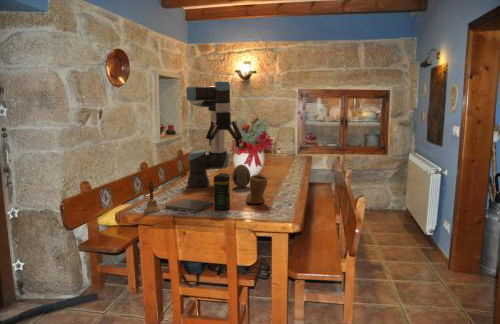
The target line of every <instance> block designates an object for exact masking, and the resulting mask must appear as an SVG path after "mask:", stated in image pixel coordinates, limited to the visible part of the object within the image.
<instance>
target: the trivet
mask: <svg viewBox="0 0 500 324" xmlns="http://www.w3.org/2000/svg"><path fill="white" fill-rule="evenodd" d="M213 206H214V201H207V200H199V199H192V198H191V199H190V198H182V199H181V198H180V199H179V200H177V201H173V202H171V203H168V204H166V205H165V209H168V208H173V209H172V210H175V209H181V210H180V211H183V210H188V211H187V212H190V211H195V212H194V213H199V212H201V211H203V210H205V208H206V209H207V207H208V208H210V207H213ZM200 210H201V211H200ZM198 211H199V212H198Z"/></svg>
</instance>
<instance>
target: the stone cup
mask: <svg viewBox="0 0 500 324" xmlns="http://www.w3.org/2000/svg"><path fill="white" fill-rule="evenodd" d="M250 177H251V178H250V182H249V189H250V193H248V194H247V196H246V199H245V200H246V203H248V204H254V205H255V204H263V203H264V201H265V196H264V193H265V190H266V188H267V185H268V178H267V177H266V176H264V175H260V174H254V175H251V176H250Z"/></svg>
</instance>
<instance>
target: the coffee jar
mask: <svg viewBox="0 0 500 324" xmlns="http://www.w3.org/2000/svg"><path fill="white" fill-rule="evenodd" d="M230 183H231V182H230V175H229V174H228V173H226V172H219V173H218V174H216V175H214V176H213V193H214V194H213V195H214V196H213V198H214V199H213V202H214V205H213V207H214V210H218V211H225V210H226V211H227V210H228V209H230V207H231V197H230V195H231V193H230V191H231V189H230Z"/></svg>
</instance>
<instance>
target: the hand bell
mask: <svg viewBox="0 0 500 324" xmlns="http://www.w3.org/2000/svg"><path fill="white" fill-rule="evenodd" d="M154 188H155V186H154V183H153V180H151V179H150V180H149V183H148V191H149V199H148V200H147V203H146V207H145V208H144V210H143V212H144V213H157V212H160V211H161V208H160V207H159V205H158V203H157V202H158V201H157V200H156V199H155V198H154Z"/></svg>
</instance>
